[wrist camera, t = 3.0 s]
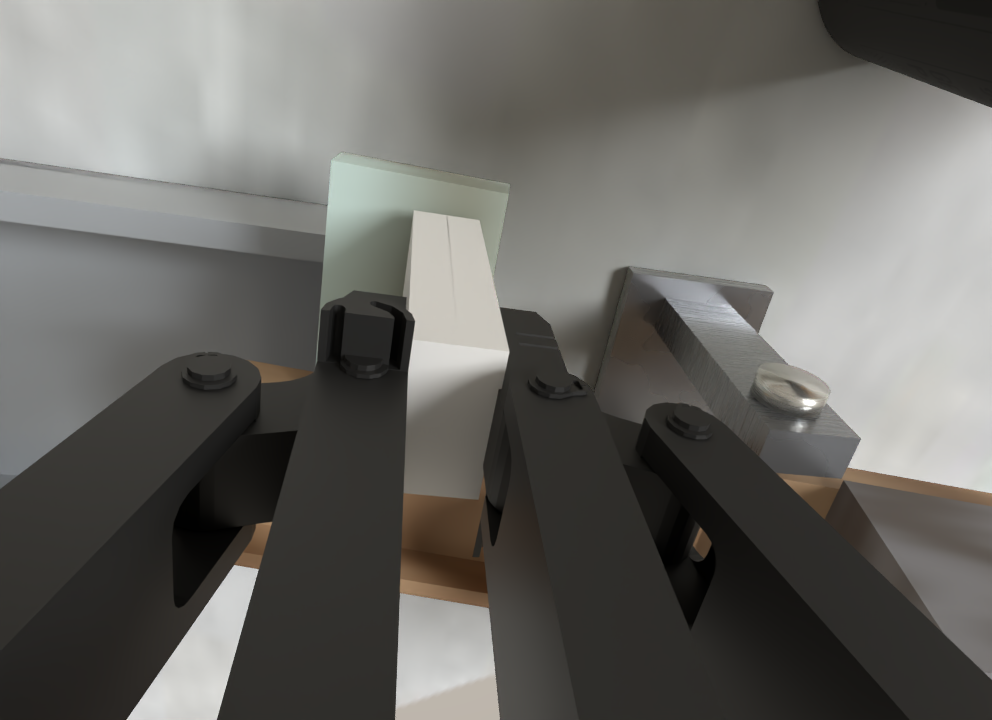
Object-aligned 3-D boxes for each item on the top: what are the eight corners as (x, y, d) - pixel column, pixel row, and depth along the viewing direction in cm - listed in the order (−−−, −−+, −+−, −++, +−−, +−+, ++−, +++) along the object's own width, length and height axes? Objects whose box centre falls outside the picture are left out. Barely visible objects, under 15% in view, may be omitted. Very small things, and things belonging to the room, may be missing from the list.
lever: (213, 508, 22) (79, 720, 15) (215, 126, 17) (17, 203, 10) (974, 638, 23) (1148, 890, 16) (1190, 313, 18) (1565, 491, 11)
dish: (-63, 478, 25) (-114, 533, 23) (-132, 139, 20) (-209, 161, 17) (336, 507, 27) (329, 559, 25) (366, 211, 22) (360, 239, 20)
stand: (561, 512, 29) (614, 703, 21) (628, 266, 24) (728, 398, 16) (678, 520, 30) (771, 707, 22) (765, 285, 25) (920, 419, 17)
